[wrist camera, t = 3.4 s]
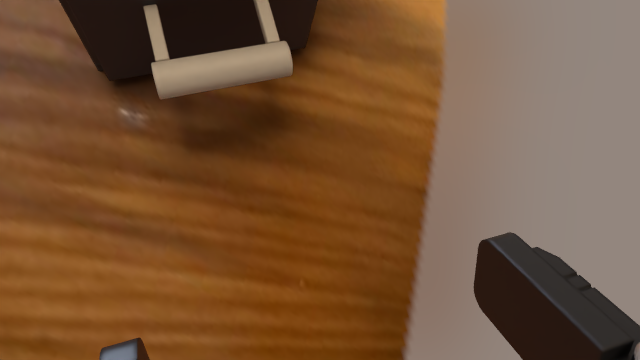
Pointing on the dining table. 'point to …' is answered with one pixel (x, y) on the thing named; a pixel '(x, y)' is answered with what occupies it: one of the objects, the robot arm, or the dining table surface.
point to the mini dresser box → (195, 40)
